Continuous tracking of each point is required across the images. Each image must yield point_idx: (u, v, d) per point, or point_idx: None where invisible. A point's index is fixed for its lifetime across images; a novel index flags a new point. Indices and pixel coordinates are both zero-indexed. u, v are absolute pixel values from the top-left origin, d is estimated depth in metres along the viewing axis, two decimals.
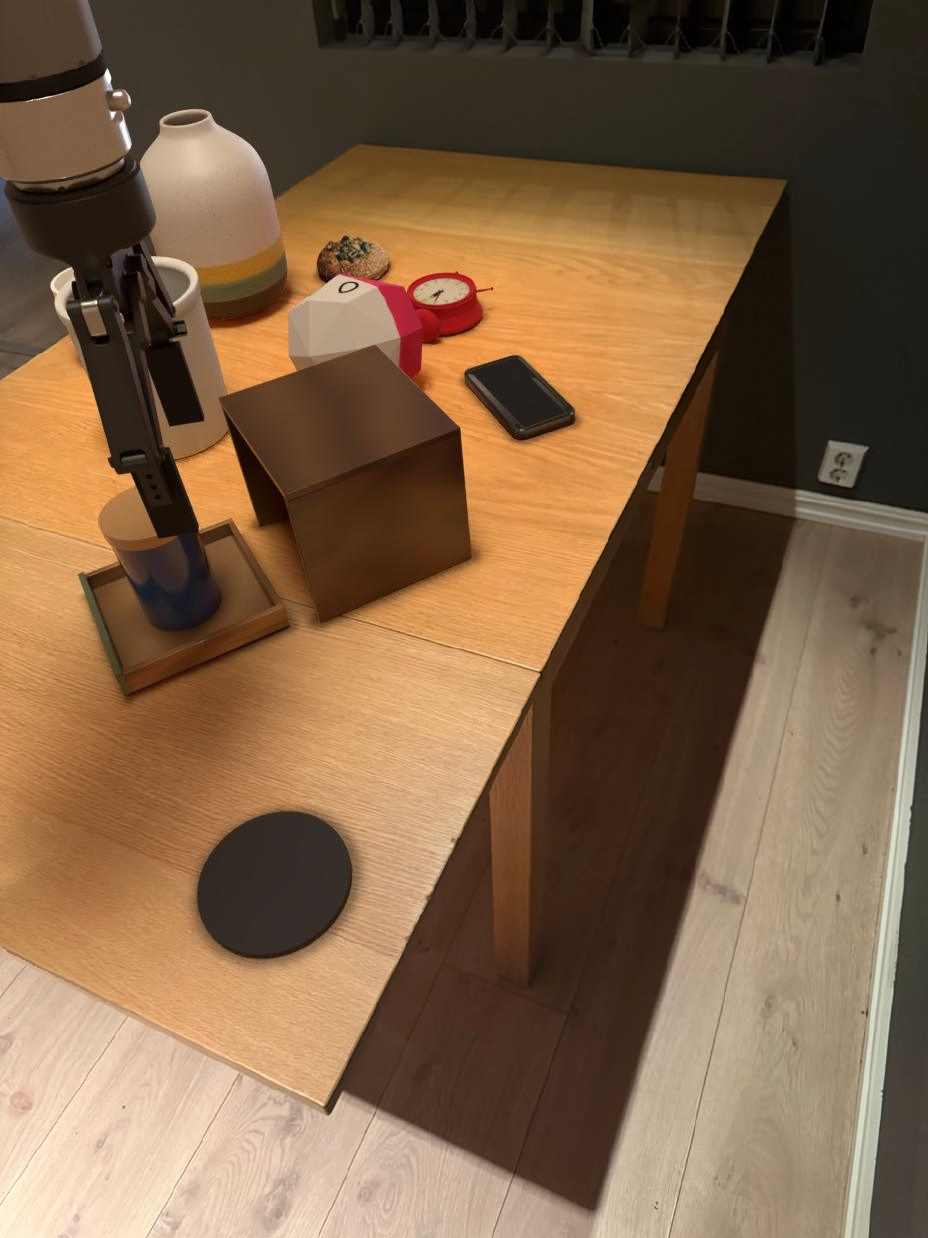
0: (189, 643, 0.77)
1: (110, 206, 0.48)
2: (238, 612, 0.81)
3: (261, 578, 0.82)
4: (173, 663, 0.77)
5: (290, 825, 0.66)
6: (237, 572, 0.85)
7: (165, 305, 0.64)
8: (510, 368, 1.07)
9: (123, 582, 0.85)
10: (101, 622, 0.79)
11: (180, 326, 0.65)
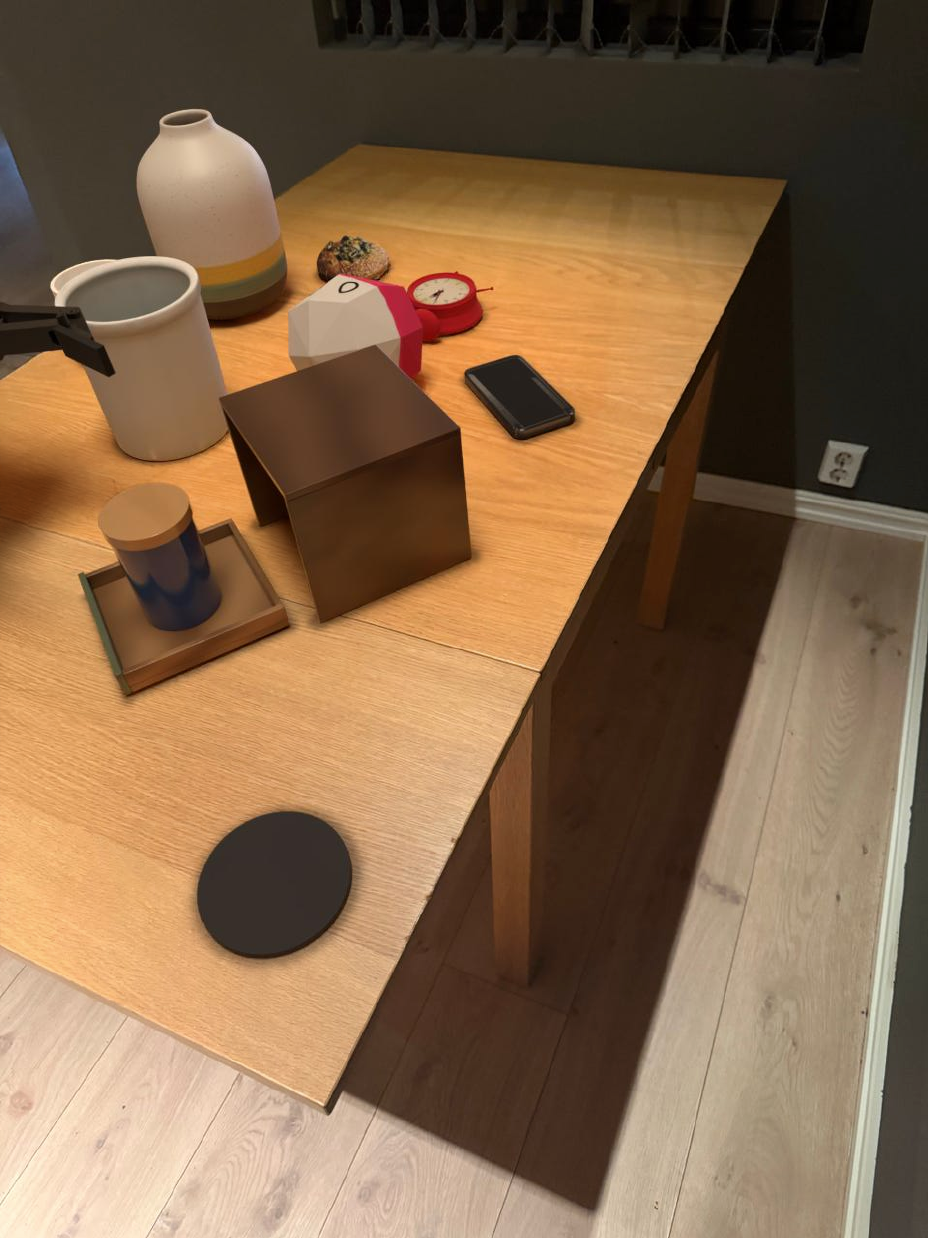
0: (189, 643, 0.77)
1: None
2: (238, 612, 0.81)
3: (261, 578, 0.82)
4: (173, 663, 0.77)
5: (290, 825, 0.66)
6: (237, 572, 0.85)
7: None
8: (510, 368, 1.07)
9: (123, 582, 0.85)
10: (101, 622, 0.79)
11: None
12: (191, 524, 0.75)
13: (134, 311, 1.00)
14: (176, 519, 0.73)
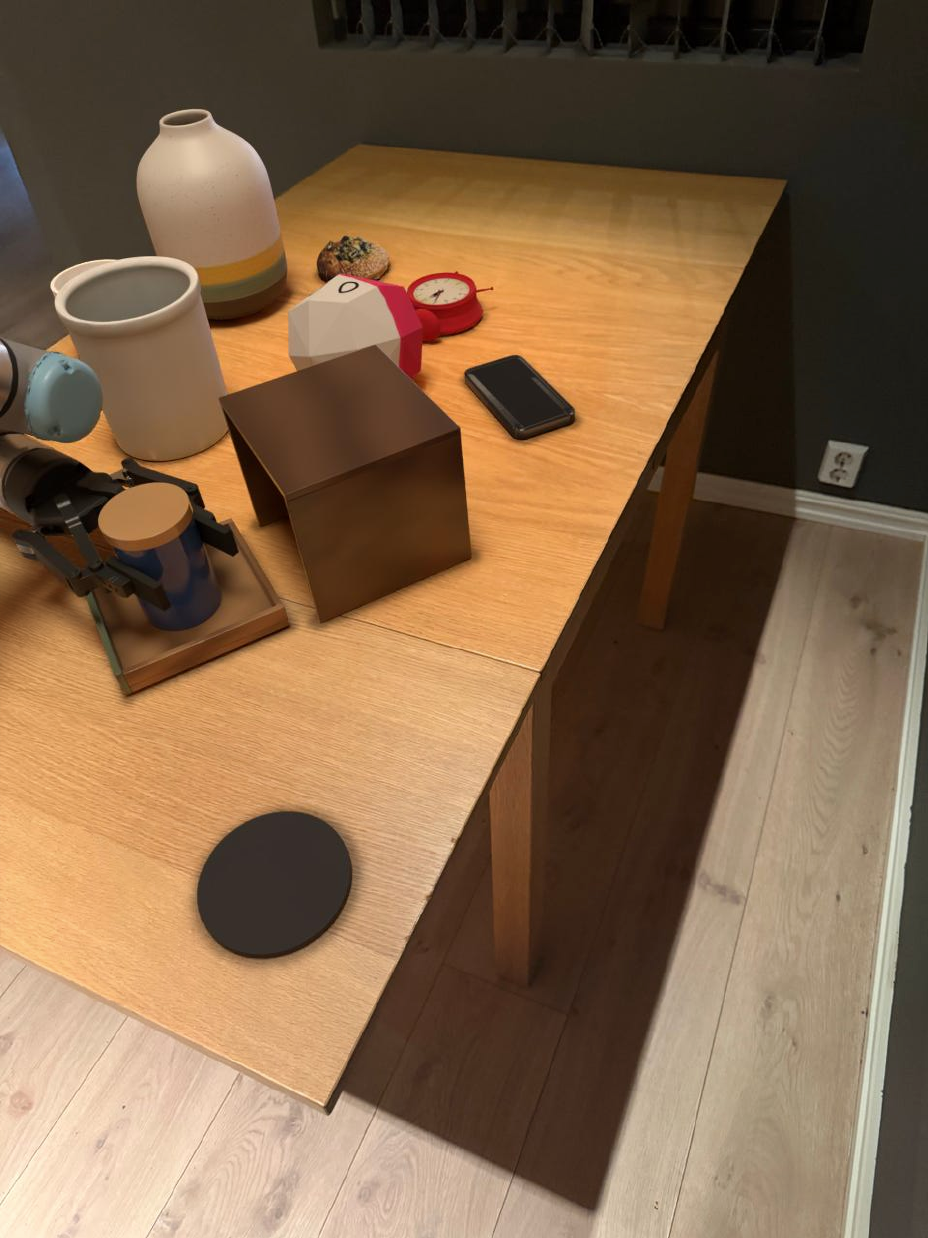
0: (189, 643, 0.77)
1: None
2: (238, 612, 0.81)
3: (261, 578, 0.82)
4: (173, 663, 0.77)
5: (290, 825, 0.66)
6: (237, 572, 0.85)
7: None
8: (510, 368, 1.07)
9: None
10: (101, 622, 0.79)
11: None
12: (191, 524, 0.75)
13: (134, 311, 1.00)
14: (176, 519, 0.73)
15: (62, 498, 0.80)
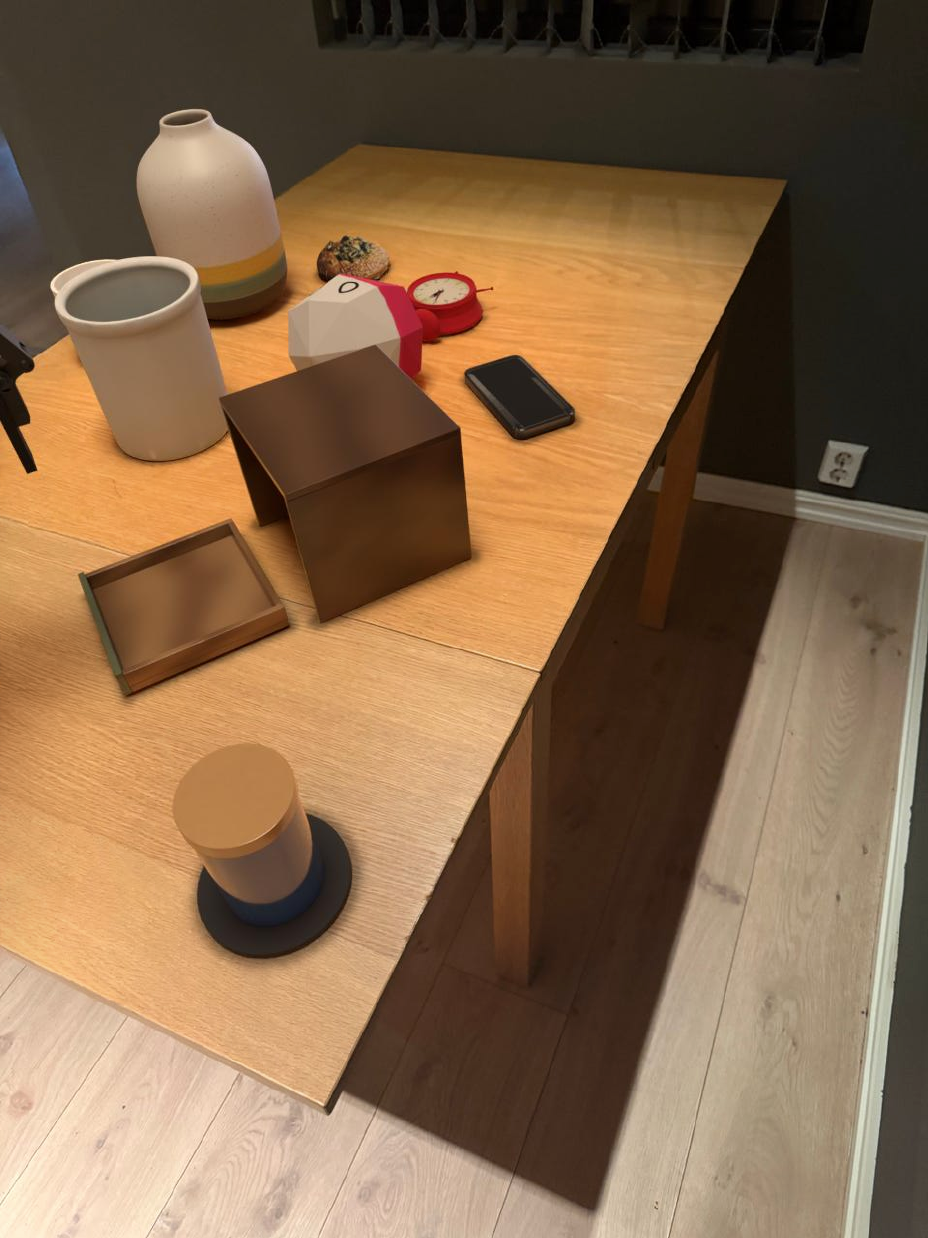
0: (189, 643, 0.77)
1: None
2: (238, 612, 0.81)
3: (261, 578, 0.82)
4: (173, 663, 0.77)
5: None
6: (237, 572, 0.85)
7: None
8: (510, 368, 1.07)
9: (123, 582, 0.85)
10: (101, 622, 0.79)
11: None
12: (296, 807, 0.56)
13: (134, 311, 1.00)
14: (280, 812, 0.54)
15: None
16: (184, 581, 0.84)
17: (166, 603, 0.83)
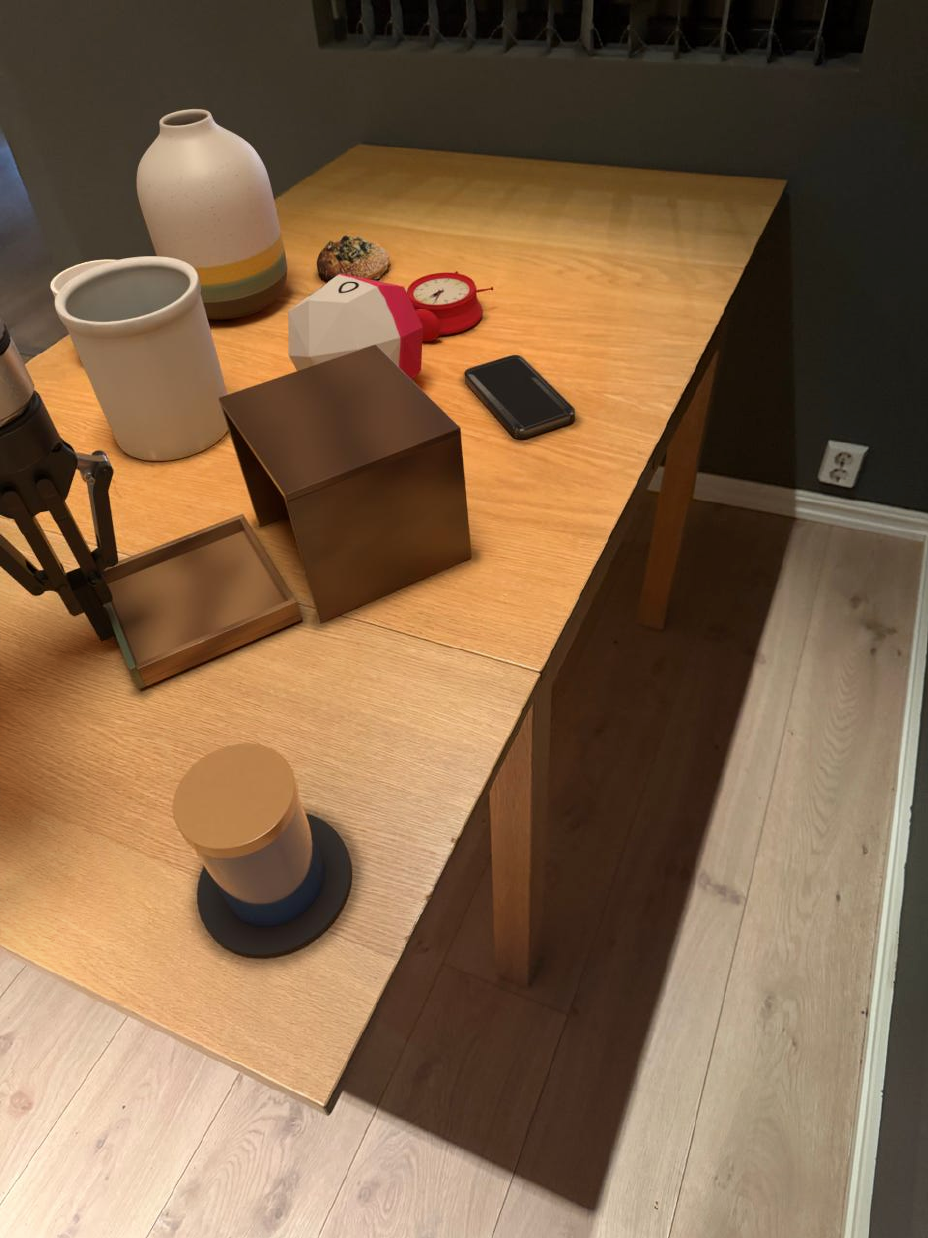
0: (202, 637, 0.77)
1: None
2: (250, 607, 0.81)
3: (273, 573, 0.82)
4: (187, 657, 0.77)
5: None
6: (249, 567, 0.85)
7: (29, 561, 0.73)
8: (510, 368, 1.07)
9: (135, 577, 0.85)
10: (114, 617, 0.79)
11: None
12: (296, 807, 0.56)
13: (134, 311, 1.00)
14: (280, 812, 0.54)
15: (14, 500, 0.66)
16: (196, 576, 0.85)
17: (179, 598, 0.83)
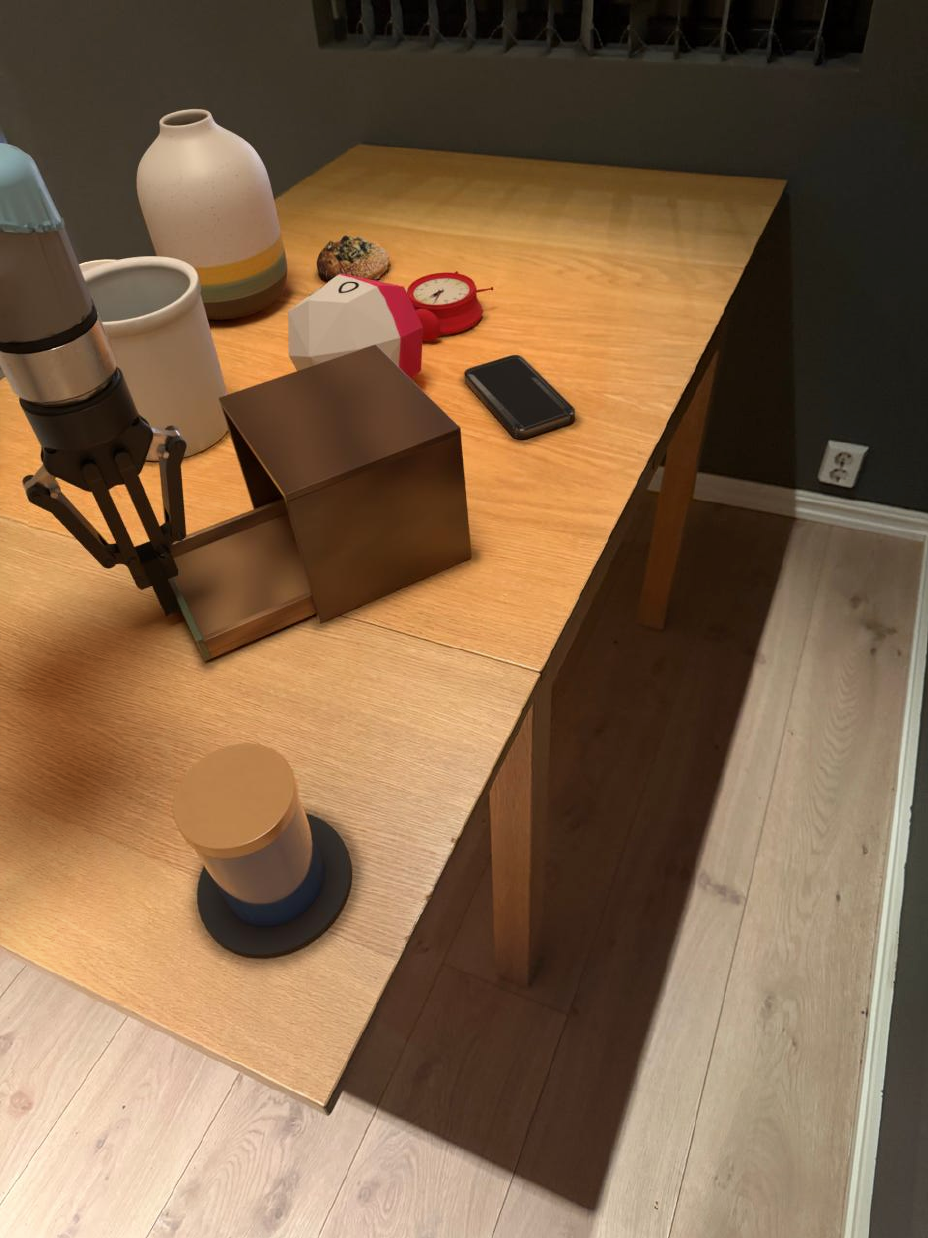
0: (266, 610, 0.79)
1: None
2: None
3: None
4: (251, 630, 0.79)
5: None
6: None
7: (100, 534, 0.75)
8: (510, 368, 1.07)
9: (194, 554, 0.87)
10: (178, 591, 0.81)
11: None
12: (296, 807, 0.56)
13: (134, 311, 1.00)
14: (280, 812, 0.54)
15: (93, 473, 0.68)
16: (254, 553, 0.87)
17: (239, 574, 0.85)
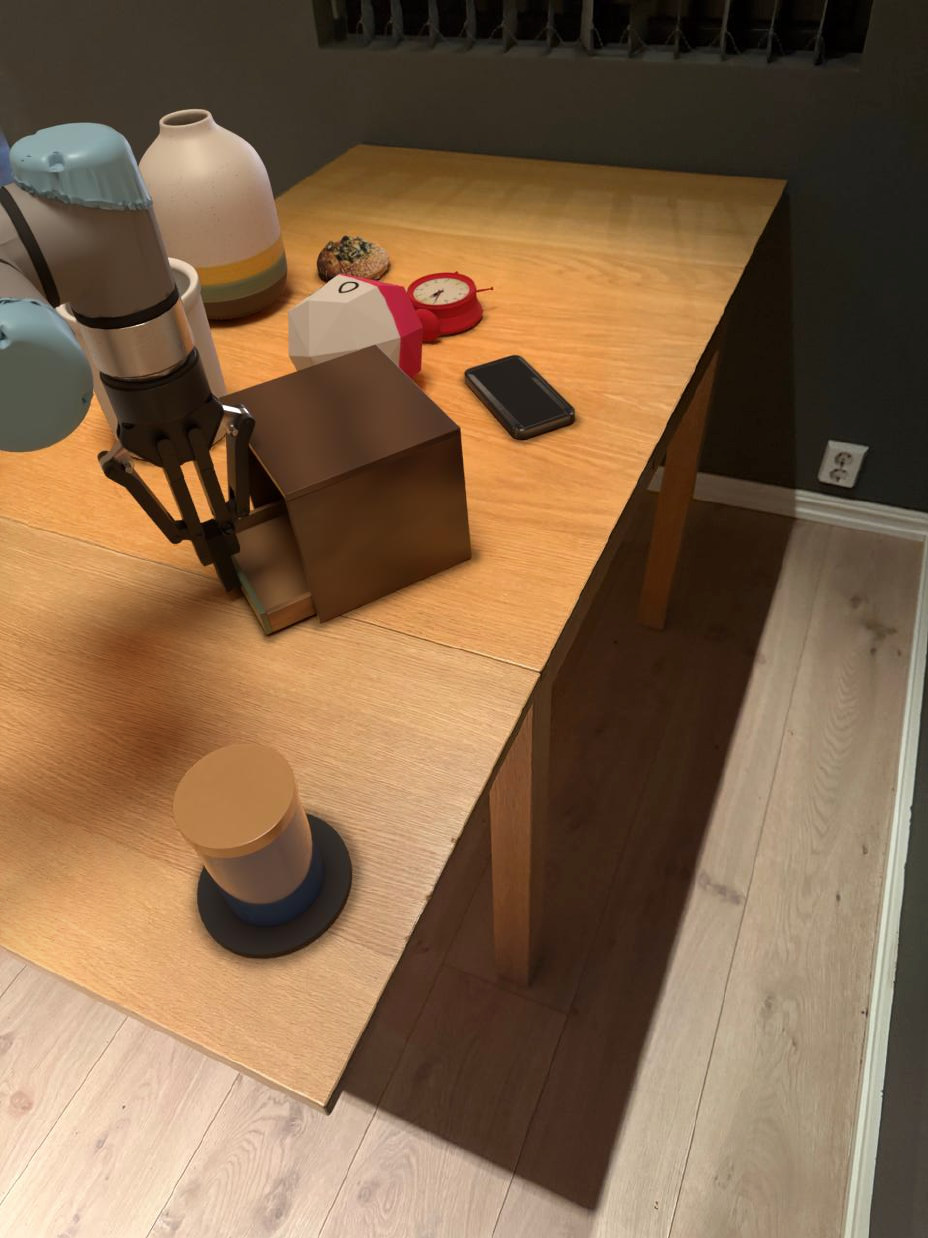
0: None
1: None
2: None
3: None
4: (311, 604, 0.80)
5: None
6: None
7: (167, 511, 0.77)
8: (510, 368, 1.07)
9: (250, 532, 0.89)
10: (239, 567, 0.82)
11: None
12: (296, 807, 0.56)
13: None
14: (280, 812, 0.54)
15: (168, 448, 0.70)
16: None
17: (295, 551, 0.86)
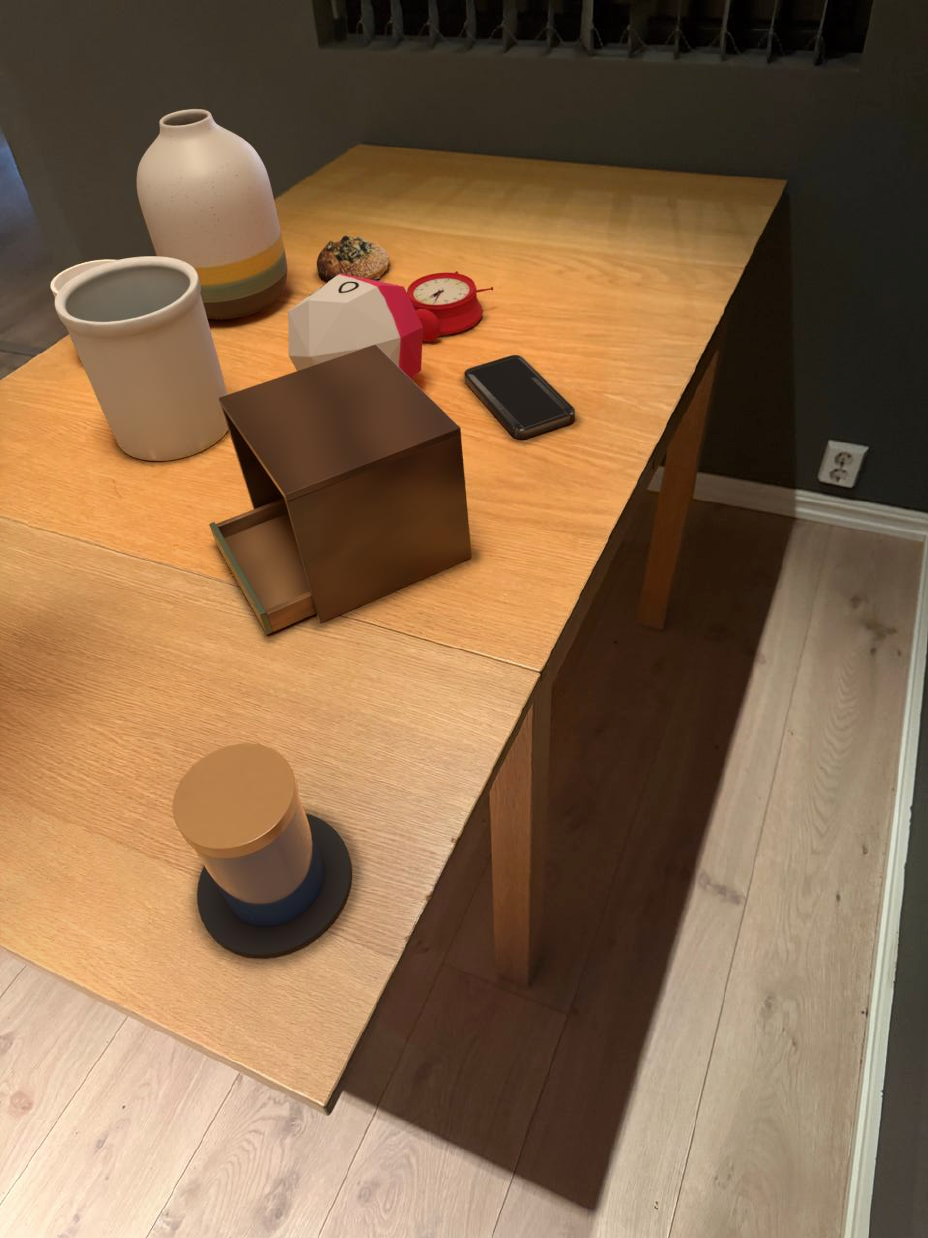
0: None
1: None
2: None
3: None
4: (311, 604, 0.80)
5: None
6: None
7: None
8: (510, 368, 1.07)
9: (250, 532, 0.89)
10: (239, 567, 0.82)
11: None
12: (296, 807, 0.56)
13: (134, 311, 1.00)
14: (280, 812, 0.54)
15: None
16: None
17: (295, 551, 0.86)
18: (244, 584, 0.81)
